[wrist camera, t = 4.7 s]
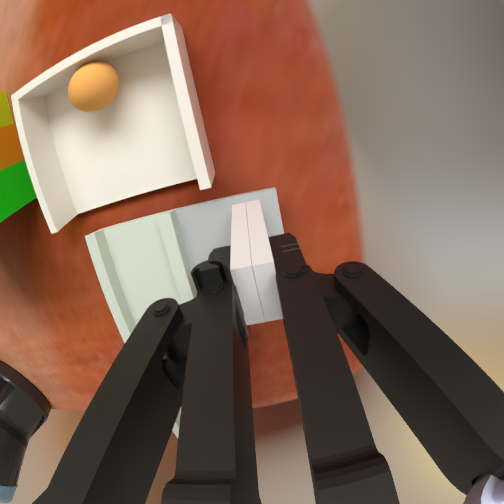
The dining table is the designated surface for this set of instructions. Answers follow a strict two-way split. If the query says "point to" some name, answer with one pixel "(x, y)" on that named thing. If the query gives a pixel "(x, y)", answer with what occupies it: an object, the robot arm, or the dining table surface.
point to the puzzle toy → (12, 166)
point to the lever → (166, 254)
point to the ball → (93, 86)
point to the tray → (115, 125)
